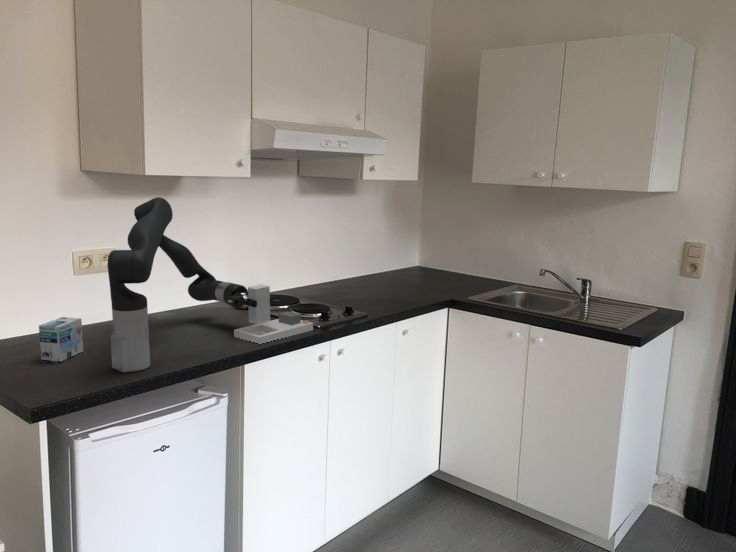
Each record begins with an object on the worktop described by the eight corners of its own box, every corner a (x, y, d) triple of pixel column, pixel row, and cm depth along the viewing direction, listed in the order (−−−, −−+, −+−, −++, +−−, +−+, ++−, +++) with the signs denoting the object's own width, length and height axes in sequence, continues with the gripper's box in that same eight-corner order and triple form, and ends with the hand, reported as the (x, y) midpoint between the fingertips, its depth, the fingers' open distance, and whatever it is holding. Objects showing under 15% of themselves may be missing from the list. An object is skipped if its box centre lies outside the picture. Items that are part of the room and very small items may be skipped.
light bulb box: (61, 363, 177) (58, 327, 175) (40, 361, 178) (37, 325, 176) (84, 352, 187) (82, 317, 185) (64, 350, 189) (62, 316, 187)
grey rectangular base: (260, 344, 198) (259, 328, 197) (234, 337, 206) (233, 320, 205) (313, 330, 216) (313, 314, 215) (287, 323, 224) (287, 308, 223)
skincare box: (261, 318, 209) (261, 284, 207) (270, 321, 206) (270, 286, 204) (247, 322, 204) (247, 286, 202) (256, 324, 202) (256, 288, 199)
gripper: (213, 286, 207) (246, 294, 196) (247, 280, 218) (280, 288, 207) (214, 308, 208) (247, 317, 198) (248, 301, 219) (280, 309, 209)
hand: (264, 302), depth 202 cm, fingers closed on skincare box, 6 cm apart
